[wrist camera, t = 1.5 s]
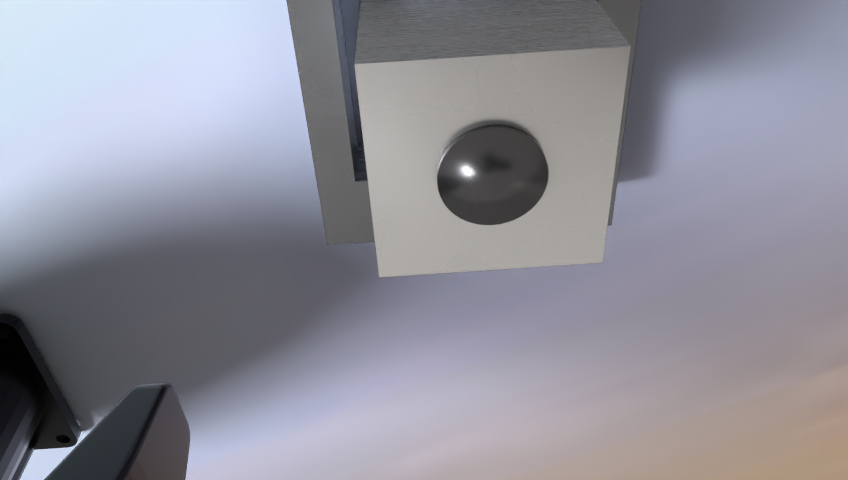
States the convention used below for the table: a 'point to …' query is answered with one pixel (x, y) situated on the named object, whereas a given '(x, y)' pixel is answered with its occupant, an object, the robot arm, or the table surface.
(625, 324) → the table surface
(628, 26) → the rail
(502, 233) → the grey rectangular block
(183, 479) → the robot arm
